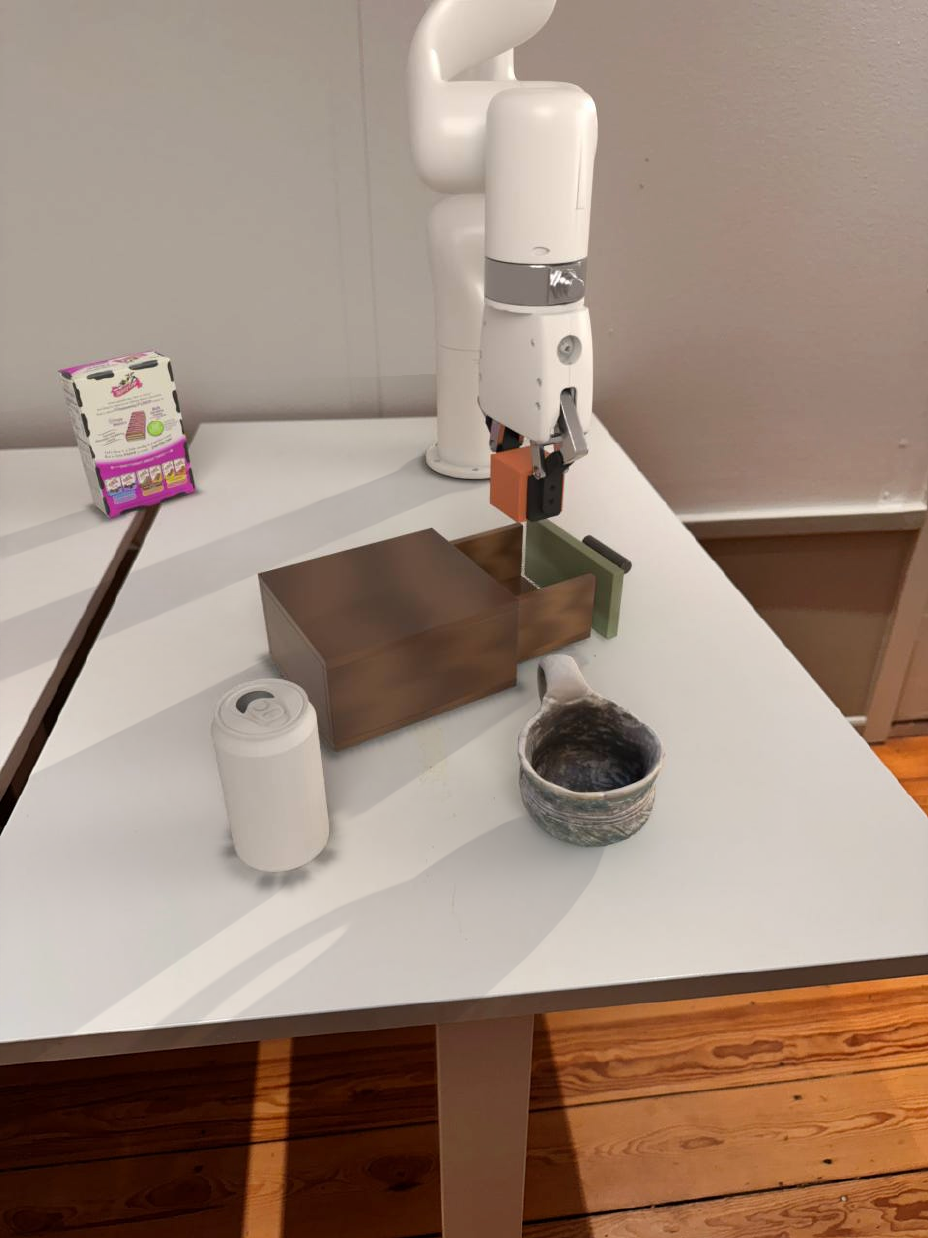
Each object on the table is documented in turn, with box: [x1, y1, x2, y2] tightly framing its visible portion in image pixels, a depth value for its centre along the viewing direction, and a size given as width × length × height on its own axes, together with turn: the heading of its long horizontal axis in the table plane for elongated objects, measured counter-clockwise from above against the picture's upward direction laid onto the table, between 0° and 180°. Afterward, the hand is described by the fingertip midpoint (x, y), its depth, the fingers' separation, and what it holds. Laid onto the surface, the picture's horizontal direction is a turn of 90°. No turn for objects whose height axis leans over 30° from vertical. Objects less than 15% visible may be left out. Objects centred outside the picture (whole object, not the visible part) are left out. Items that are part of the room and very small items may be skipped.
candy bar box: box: [57, 349, 197, 519], centre depth 101 cm, size 11×5×16 cm, turn 131°
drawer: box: [448, 518, 633, 664], centre depth 80 cm, size 20×13×7 cm
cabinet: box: [257, 527, 520, 753], centre depth 74 cm, size 17×15×9 cm
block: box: [489, 445, 566, 524], centre depth 74 cm, size 4×4×4 cm
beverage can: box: [210, 677, 330, 873], centre depth 57 cm, size 6×6×12 cm
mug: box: [517, 653, 666, 848], centre depth 60 cm, size 10×12×10 cm
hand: (525, 503), depth 75 cm, fingers closed on block, 4 cm apart
